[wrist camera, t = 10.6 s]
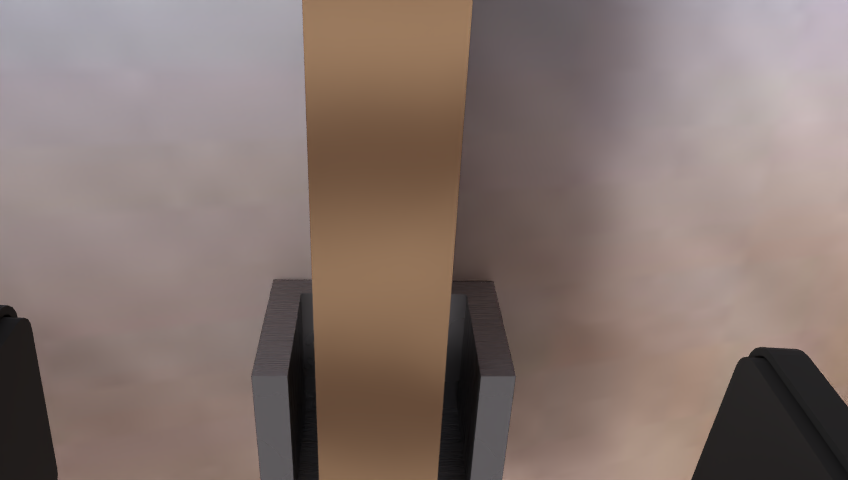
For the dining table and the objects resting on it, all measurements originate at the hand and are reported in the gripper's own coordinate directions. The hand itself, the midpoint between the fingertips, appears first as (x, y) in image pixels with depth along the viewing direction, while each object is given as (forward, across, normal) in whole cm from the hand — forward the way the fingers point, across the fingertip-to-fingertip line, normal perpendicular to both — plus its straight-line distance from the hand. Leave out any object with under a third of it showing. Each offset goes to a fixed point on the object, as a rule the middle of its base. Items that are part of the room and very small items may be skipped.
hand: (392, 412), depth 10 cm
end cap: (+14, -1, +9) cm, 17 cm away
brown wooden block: (+13, 0, 0) cm, 13 cm away
